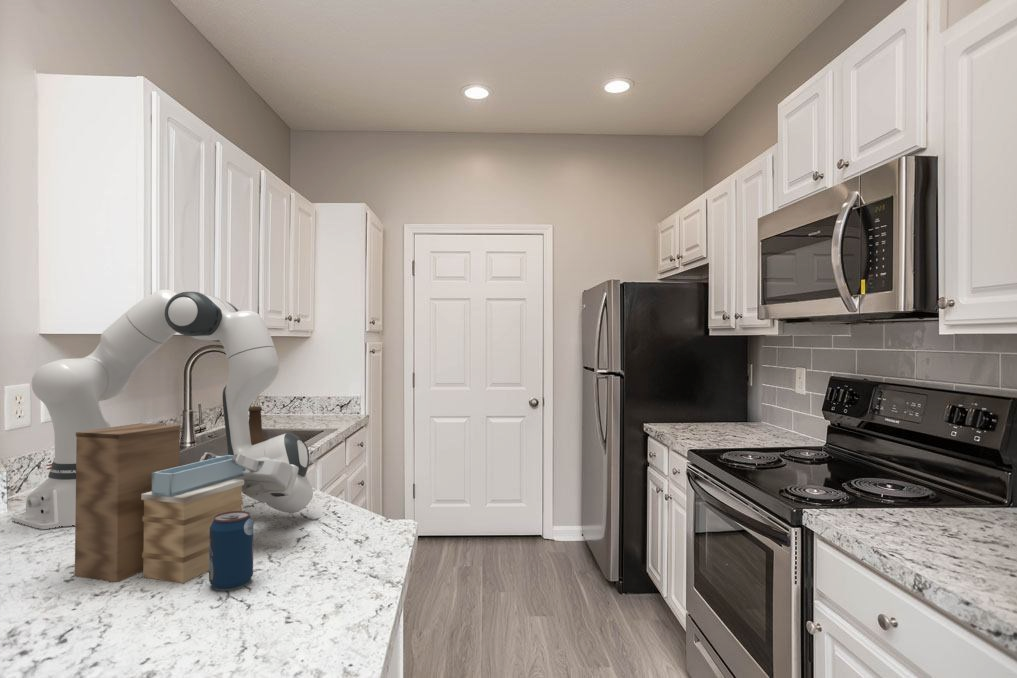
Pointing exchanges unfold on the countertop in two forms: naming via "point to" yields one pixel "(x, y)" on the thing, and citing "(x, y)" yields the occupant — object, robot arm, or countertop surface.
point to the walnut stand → (117, 495)
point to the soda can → (231, 550)
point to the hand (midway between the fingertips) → (220, 457)
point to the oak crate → (184, 529)
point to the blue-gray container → (194, 476)
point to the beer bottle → (256, 425)
